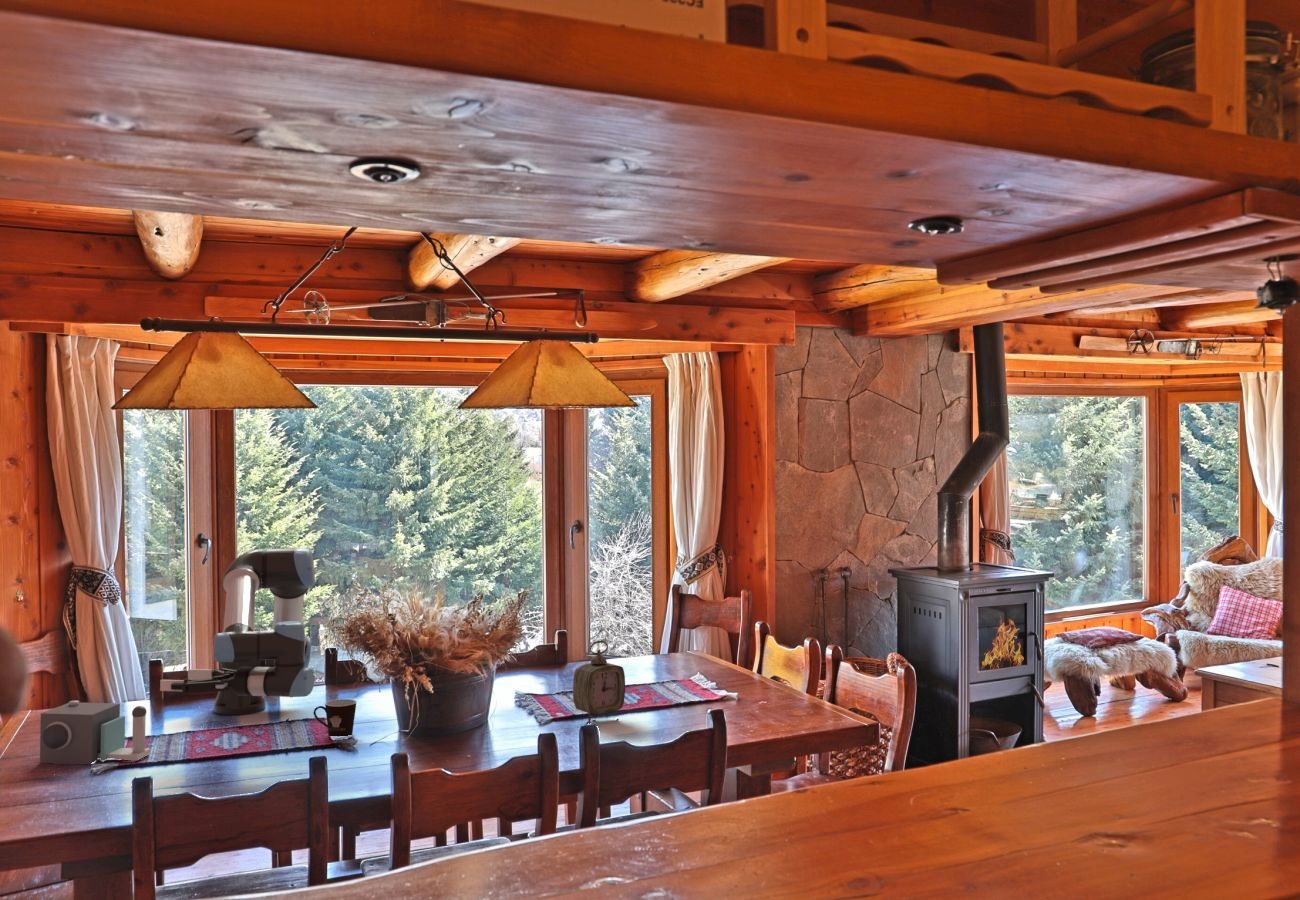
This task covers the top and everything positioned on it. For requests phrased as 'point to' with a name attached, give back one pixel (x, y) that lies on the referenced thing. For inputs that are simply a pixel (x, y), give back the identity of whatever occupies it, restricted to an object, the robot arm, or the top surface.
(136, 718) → the battery sled
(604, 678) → the tabletop clock
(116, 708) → the camera body
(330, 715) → the coffee mug
